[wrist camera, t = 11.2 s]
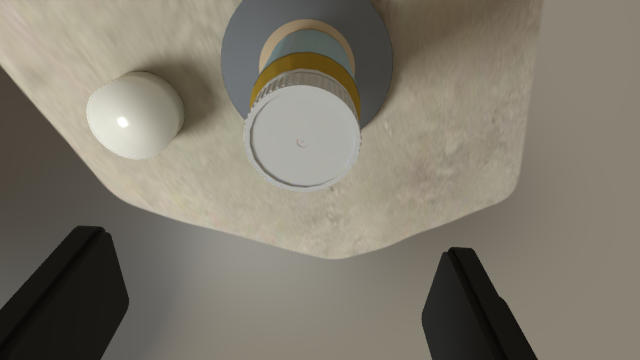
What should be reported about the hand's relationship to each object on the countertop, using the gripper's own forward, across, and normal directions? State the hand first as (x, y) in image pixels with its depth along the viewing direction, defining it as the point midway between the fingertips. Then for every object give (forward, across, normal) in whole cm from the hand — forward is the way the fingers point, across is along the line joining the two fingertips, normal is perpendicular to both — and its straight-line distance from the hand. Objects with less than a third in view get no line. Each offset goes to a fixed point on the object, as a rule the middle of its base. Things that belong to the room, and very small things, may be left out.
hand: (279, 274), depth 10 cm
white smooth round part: (+26, +15, +6) cm, 30 cm away
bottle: (+25, 0, 0) cm, 25 cm away
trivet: (+26, 0, 0) cm, 26 cm away
